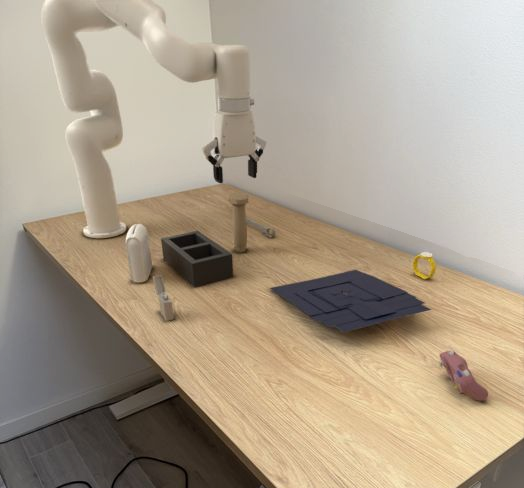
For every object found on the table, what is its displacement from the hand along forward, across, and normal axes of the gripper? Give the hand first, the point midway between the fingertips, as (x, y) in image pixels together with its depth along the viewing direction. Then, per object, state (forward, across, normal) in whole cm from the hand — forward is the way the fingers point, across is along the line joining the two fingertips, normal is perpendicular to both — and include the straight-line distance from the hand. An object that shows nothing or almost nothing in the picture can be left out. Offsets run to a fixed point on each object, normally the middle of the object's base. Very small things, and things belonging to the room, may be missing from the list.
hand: (235, 179), depth 130 cm
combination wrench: (+20, -13, -12) cm, 26 cm away
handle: (+19, 0, +1) cm, 19 cm away
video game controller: (+18, -3, +75) cm, 77 cm away
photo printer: (+20, +28, +1) cm, 34 cm away
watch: (+18, -30, +40) cm, 53 cm away
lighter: (+19, +30, +23) cm, 43 cm away
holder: (+19, +14, +5) cm, 25 cm away
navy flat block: (+19, -5, +42) cm, 46 cm away
